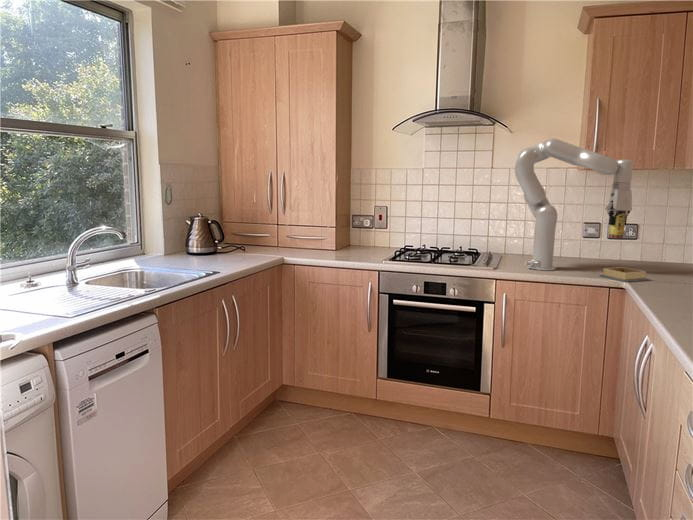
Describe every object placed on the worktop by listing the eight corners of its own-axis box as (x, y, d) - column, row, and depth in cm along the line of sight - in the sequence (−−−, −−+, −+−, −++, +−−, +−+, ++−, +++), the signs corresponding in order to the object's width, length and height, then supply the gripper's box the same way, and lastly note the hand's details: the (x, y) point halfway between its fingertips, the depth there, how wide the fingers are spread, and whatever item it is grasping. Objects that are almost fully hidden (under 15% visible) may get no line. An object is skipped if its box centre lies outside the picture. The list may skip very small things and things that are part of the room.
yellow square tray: (625, 282, 228) (626, 273, 228) (599, 276, 241) (600, 268, 240) (648, 280, 233) (649, 272, 233) (622, 274, 246) (622, 266, 245)
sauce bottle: (618, 239, 245) (623, 196, 242) (605, 237, 250) (610, 196, 246) (625, 238, 249) (630, 196, 245) (612, 237, 254) (617, 195, 250)
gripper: (614, 186, 239) (610, 225, 242) (642, 187, 245) (637, 225, 248) (601, 185, 246) (597, 224, 249) (628, 186, 252) (624, 223, 255)
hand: (617, 224), depth 248 cm, fingers closed on sauce bottle, 6 cm apart
